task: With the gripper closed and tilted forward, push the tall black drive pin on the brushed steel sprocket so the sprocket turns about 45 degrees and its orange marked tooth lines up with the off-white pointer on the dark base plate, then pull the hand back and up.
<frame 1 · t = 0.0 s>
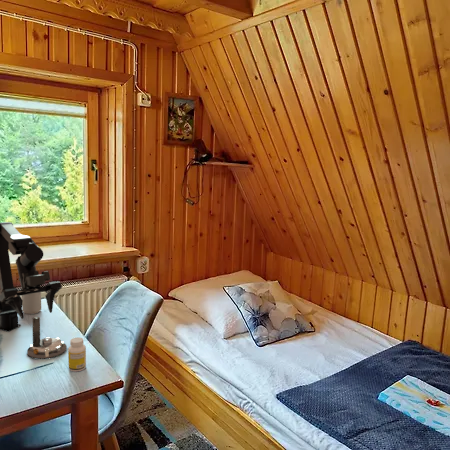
hand: (37, 315, 143), 15 cm above the table, tool tilted 35°, fingers open, 9 cm apart
sprocket: (46, 332, 149), point 7 cm above the table, hinge at 0.0°
supplement bottle: (77, 368, 140), on the table
base plate: (47, 350, 150), on the table
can: (32, 312, 185), on the table
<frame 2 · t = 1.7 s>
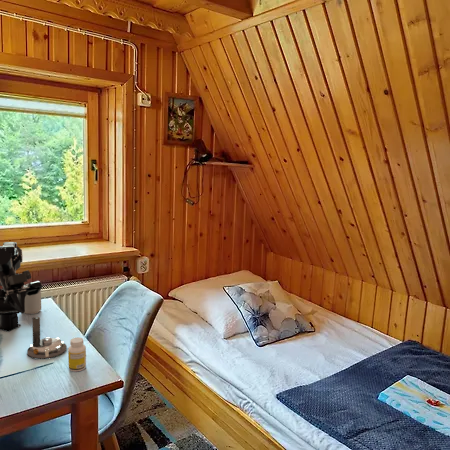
hand: (23, 312, 152), 12 cm above the table, tool tilted 45°, fingers closed
nothing on the table moved.
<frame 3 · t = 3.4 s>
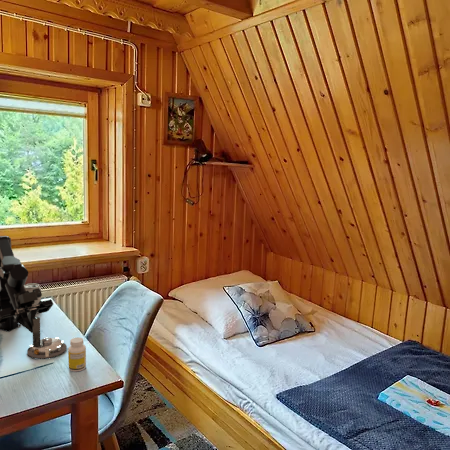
hand: (33, 332, 148), 7 cm above the table, tool tilted 45°, fingers closed, pressing on sprocket
sprocket: (46, 332, 149), point 7 cm above the table, hinge at 4.0°, touching gripper
everything else where it was.
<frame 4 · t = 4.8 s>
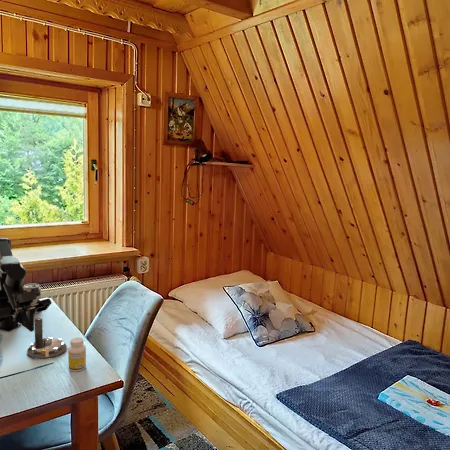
hand: (32, 330, 149), 7 cm above the table, tool tilted 45°, fingers closed
sprocket: (46, 332, 149), point 7 cm above the table, hinge at 32.5°
everything else where it was.
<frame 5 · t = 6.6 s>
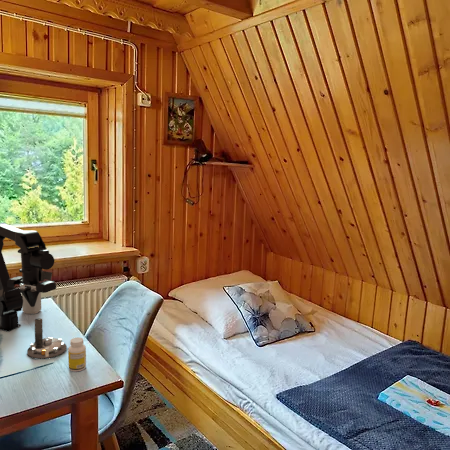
hand: (32, 306, 158), 12 cm above the table, tool pointing down, fingers closed
nothing on the table moved.
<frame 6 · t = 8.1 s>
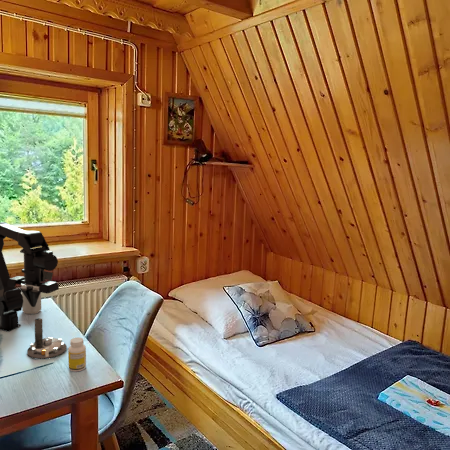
hand: (33, 306, 159), 12 cm above the table, tool pointing down, fingers closed
nothing on the table moved.
at the end: sprocket at +33° (first picture: +0°) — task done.
